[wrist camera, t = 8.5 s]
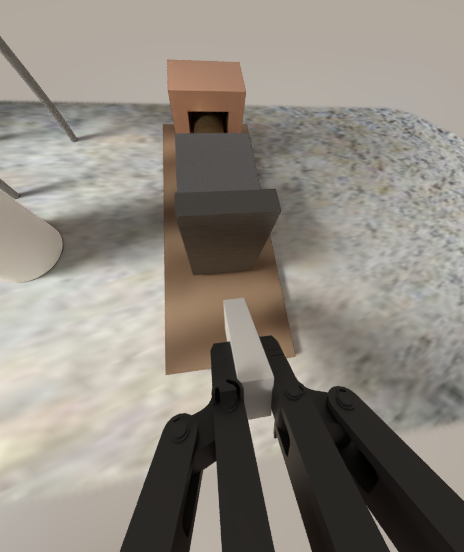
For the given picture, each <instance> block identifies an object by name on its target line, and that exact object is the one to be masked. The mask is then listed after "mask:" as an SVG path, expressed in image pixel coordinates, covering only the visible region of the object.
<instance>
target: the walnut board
mask: <svg viewBox="0 0 464 552" xmlns="http://www.w3.org/2000/svg"><path fill="white" fill-rule="evenodd" d="M175 133H176V132H175V126H174V124H163V172H164V266H165V359H166V375H169V374H176V373H183V372H190V371H197V370H205V369H211V354H210V350H211V348H212V346H213V343H221V342H227V337H226V331H225V318H224V303H223V300H227V299H237V298H244V299H245V302H246V305H247V307H248V310H249V313H250V315H251V318H252V320H253V323H254V326H255V328H256V331H257V334H258V336H259V337H262V336H269V335H272V336H273V337H274V338H275V339H276V340H277V341H278V342H279V344H280V346H281V349H282V350H283V353H284V355H285V357H286V358H290V357H295V352H294V347H293V343H292V338H291V333H290V328H289V324H288V319H287V314H286V309H285V305H284V300H283V295H282V290H281V285H280V281H279V276H278V271H277V266H276V262H275V257H274V252H273V247H272V243H271V238H270V235H269V237H268V239H267V241H266V243H265V245H264V247H263V249H262V251H261V253H260V256H259V258H258V260H257V262H256V264H255V266H254V268H253V270H251V271H239V272H227V273H216V274H204V275H193V273H192V270H191V266H190V263H189V260H188V256H187V253H186V250H185V247H184V243H183V240H182V237H181V234H180V230H179V227H178V224H177V221H176V217H175V194H174V193H177V181H176V154H175ZM241 133H248V128H247V124H242V129H241ZM258 181H259V180H258Z"/></svg>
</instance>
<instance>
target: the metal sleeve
mask: <svg viewBox="0 0 464 552" xmlns="http://www.w3.org/2000/svg"><path fill="white" fill-rule="evenodd" d="M175 154H176V181H177V193H185V192H211V191H237V190H260V185H259V181H258V176H257V171H256V166H255V161H254V157H253V152H252V147H251V142H250V138H249V133H175Z"/></svg>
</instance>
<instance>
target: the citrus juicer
mask: <svg viewBox="0 0 464 552" xmlns="http://www.w3.org/2000/svg"><path fill="white" fill-rule="evenodd" d="M0 52H1V53H2V54H3V56H4V57H5V58H6V59H7V60H8V61H9V63H10V64H11V65H12V66H13V67H14V69H15V70H16V71H17V72H18V73H19V75H20V76H21V77H22V78H23V80H24V81H25V82H26V83H27V84H28V86H29V87H30V88H31V89H32V91H33V92H34V93H35V94H36V96H37V97H38V98H39V99H40V100H41V102H42V103H43V104H44V106H45V107H46V108H47V109H48V111H49V112H50V113H51V114H52V116H53V117H54V118H55V120H56V121H57V122H58V123H59V125H60V126H61V127H62V129H63V130H64V131H65V133H66V134H67V135H68V137H69V138H70V140H71V141H72V142H75V141H77V138H76V136H75V135H74V133H73V132H72V130H71V129H70V127H69V126H68V124H67V123H66V121H65V120H64V118H63V117H62V116H61V114H60V113H59V112H58V110H57V109H56V107H55V106H54V105H53V103H52V102H51V101H50V100H49V98H48V97H47V96H46V94H45V93H44V92H43V90H42V89H41V88H40V86H39V85H38V84H37V83H36V81H35V80H34V79H33V77H32V76H31V75H30V73H29V72H28V71H27V70H26V68H25V67H24V66H23V65H22V63H21V62H20V61H19V59H18V58H17V57H16V56H15V54H14V53H13V52H12V51H11V50H10V48H9V47H8V46H7V44H6V43H5V42H4V40H3V39H2V38H1V37H0ZM0 189H1V190H2V191H4V192H5V193H7V194H8V195H9V196H11V197H12V198H14V199H16V198H18V197H19V196H20V195H19V194H18V193H17V192H16V191H15V190H13V189H12V188H11V187H10V186H8V185H7V184H6V183H5V182H4V181H2V180H1V179H0Z"/></svg>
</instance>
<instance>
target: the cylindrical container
mask: <svg viewBox="0 0 464 552" xmlns="http://www.w3.org/2000/svg"><path fill="white" fill-rule="evenodd" d="M62 246H63V242H62V238H61V235H60V233H59V232H58V231H57V230H56V229H55V228H54V227H52V226H51V225H49V224H48V223H47V222H45V221H44V220H42V219H41V218H39V217H38V216H37V215H35V214H34V213H32V212H31V211H30V210H28V209H27V208H25V207H24V206H23V205H21V204H20V203H18V202H17V201H15V200H14V199H13V198H11V197H10V196H8V195H7V194H6V193H4V192H3V191H1V190H0V280H1V281H4V282H9V283H22V282H27V281H30V280H34V279H36V278H38V277H40V276H42V275H43V274H45V273H46V272H47V271H49V270H50V269H51V268H52V267H53V266H54V265H55V263H56V262H57V261H58V259H59V257H60V255H61V252H62Z"/></svg>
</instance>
